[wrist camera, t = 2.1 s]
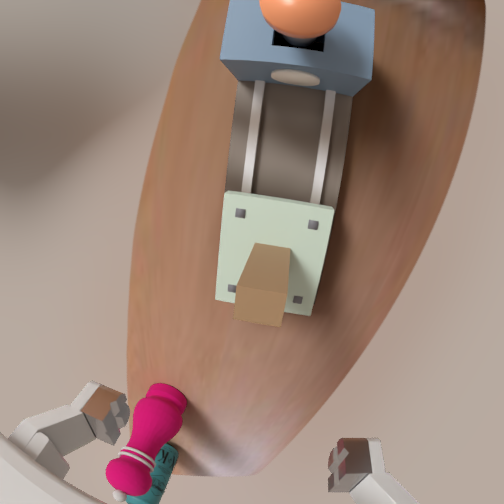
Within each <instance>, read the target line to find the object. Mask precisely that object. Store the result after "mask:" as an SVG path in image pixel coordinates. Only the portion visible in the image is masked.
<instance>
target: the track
mask: <svg viewBox="0 0 504 504" xmlns="http://www.w3.org/2000/svg"><path fill="white" fill-rule="evenodd" d="M352 99H353V97H352V96H348V95H343V94H338V93H336V91H331V90H326V91H323V90H317V89H311V88H305V87H298V86H291V85H284V84H275V83H265V81H260V80H255V82H254V81H240V80H238V85H237V93H236V100H235V108H234V116H233V123H232V132H231V140H230V148H229V157H228V166H227V175H226V185H225V192H227V191H228V190H229V191H236V192H244V193H251V194H258V195H265V196H271V197H278V198H284V199H290V200H296V201H302V202H308V203H314V204H319V205H325V206H330V207H333V209H334V215H333V220H332V225H331V230H330V235H329V240H328V245H329V241H330V236H331V231H332V226H333V221H334V216H335V211H336V206H337V200H338V195H339V189H340V184H341V178H342V172H343V166H344V159H345V153H346V146H347V139H348V132H349V124H350V116H351V108H352ZM328 245H327V249H326V254H327V250H328ZM326 254H325V258H324V263H325V259H326ZM324 263H323V267H324ZM323 267H322V271H321V276H322V272H323ZM321 276H320V280H321ZM320 280H319V284H320ZM319 284H318V288H319ZM318 288H317V292H318ZM317 292H316V296H317ZM316 296H315V300H316ZM315 300H314V304H315Z"/></svg>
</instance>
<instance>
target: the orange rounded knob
mask: <svg viewBox="0 0 504 504" xmlns="http://www.w3.org/2000/svg"><path fill="white" fill-rule="evenodd" d="M259 3H260V8H261V11H262V15H263V17H264V19H265V21H266V22H267V23H268V25H269V26H270V27H272V28H273V29H274V30H276V31H277V32H279V33H281V34H283V37H284V39H285V40H286V41H287V42H288V43H289V44H291V45H293V46H297V47H306V46H309V45H311V44H313V43H314V42H315V40H316V38H317V37H318V36H321V35H324V34H326V33H327V32H329V31H330V30H331V29H333V27H334V26H335V25H336V23H337V21H338V18H339V15H340V12H341V0H259Z"/></svg>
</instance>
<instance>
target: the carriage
mask: <svg viewBox="0 0 504 504" xmlns="http://www.w3.org/2000/svg"><path fill="white" fill-rule="evenodd" d="M333 215H334V209H333V207H330V206H325V205H319V204H314V203H308V202H302V201H296V200H290V199H284V198H278V197H271V196H265V195H258V194H251V193H244V192H236V191H229V190H228V191H227V192H225V193H224V203H223V213H222V223H221V234H220V246H219V258H218V270H217V283H216V297H215V300H220V301H225V302H231V303H235V305H234V314H233V319H236V320H241V321H247V322H252V323H258V324H263V325H269V326H275V327H281V323H282V318H283V314H284V312H288V313H294V314H300V315H307V316H310V315H311V312H312V308H313V304H314V300H315V296H316V292H317V288H318V284H319V280H320V276H321V271H322V267H323V263H324V258H325V254H326V249H327V245H328V240H329V235H330V230H331V225H332V220H333Z"/></svg>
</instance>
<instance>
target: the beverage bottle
mask: <svg viewBox="0 0 504 504" xmlns="http://www.w3.org/2000/svg"><path fill="white" fill-rule="evenodd" d="M177 458H179V457H178V452H177V450H176V449H175V448H173V447H172V446H170V445H168V444H164V445H163V446H162V448H161V449H160V450H159V452H158V453H157V455H156V458H155V463H156V466H155V467H154V471H153V472H152V473H150V475H151V478H152V485H151V488H150V489H149V491H148V492H147V493H146V494H144V495H141V496H130V495H127V499H126V502H127V503H128V504H159V502H160V500H161V497H162V495H163V493H164V490H165V488H166V485H167V483H168V481H169V478H170V476H171V473H172V471H173V468H175V467H174V466H175V465H176V463H177V462H176V461H177Z"/></svg>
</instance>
